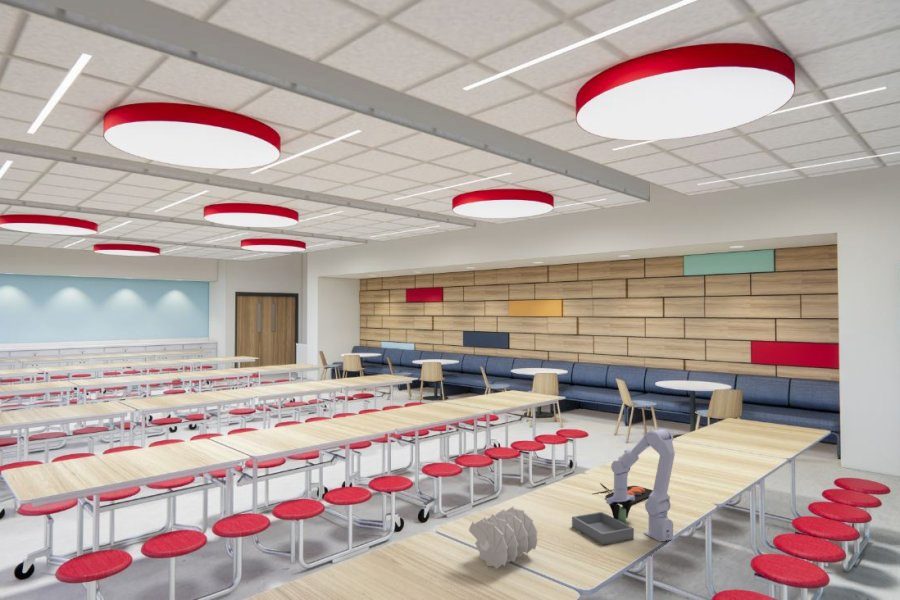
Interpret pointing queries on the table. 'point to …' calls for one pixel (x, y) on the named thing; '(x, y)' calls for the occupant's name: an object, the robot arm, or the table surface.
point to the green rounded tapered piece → (622, 514)
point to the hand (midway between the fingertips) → (620, 518)
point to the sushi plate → (632, 492)
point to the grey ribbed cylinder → (504, 536)
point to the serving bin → (602, 528)
